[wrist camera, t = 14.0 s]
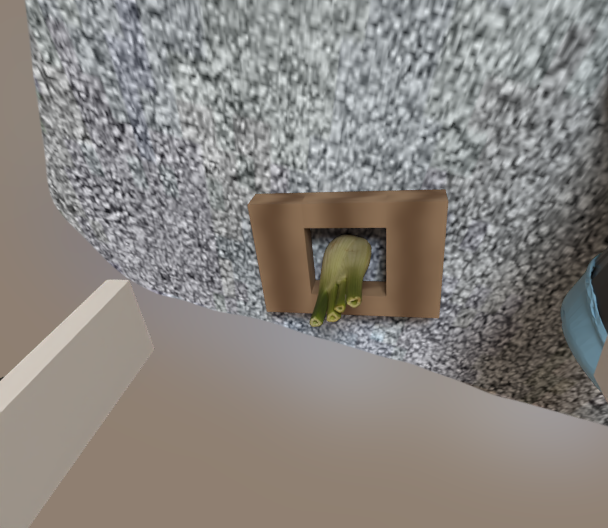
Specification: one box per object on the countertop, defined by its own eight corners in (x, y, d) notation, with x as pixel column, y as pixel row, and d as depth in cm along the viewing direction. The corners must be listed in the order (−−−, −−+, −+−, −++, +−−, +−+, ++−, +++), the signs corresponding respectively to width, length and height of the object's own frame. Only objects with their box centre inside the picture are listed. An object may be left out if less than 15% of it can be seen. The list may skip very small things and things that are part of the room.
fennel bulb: (327, 268, 50) (310, 335, 40) (319, 232, 48) (297, 293, 38) (377, 263, 49) (371, 332, 39) (370, 225, 46) (362, 287, 36)
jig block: (445, 189, 42) (448, 201, 40) (436, 302, 50) (438, 318, 47) (255, 193, 47) (247, 204, 44) (273, 297, 54) (266, 311, 51)
